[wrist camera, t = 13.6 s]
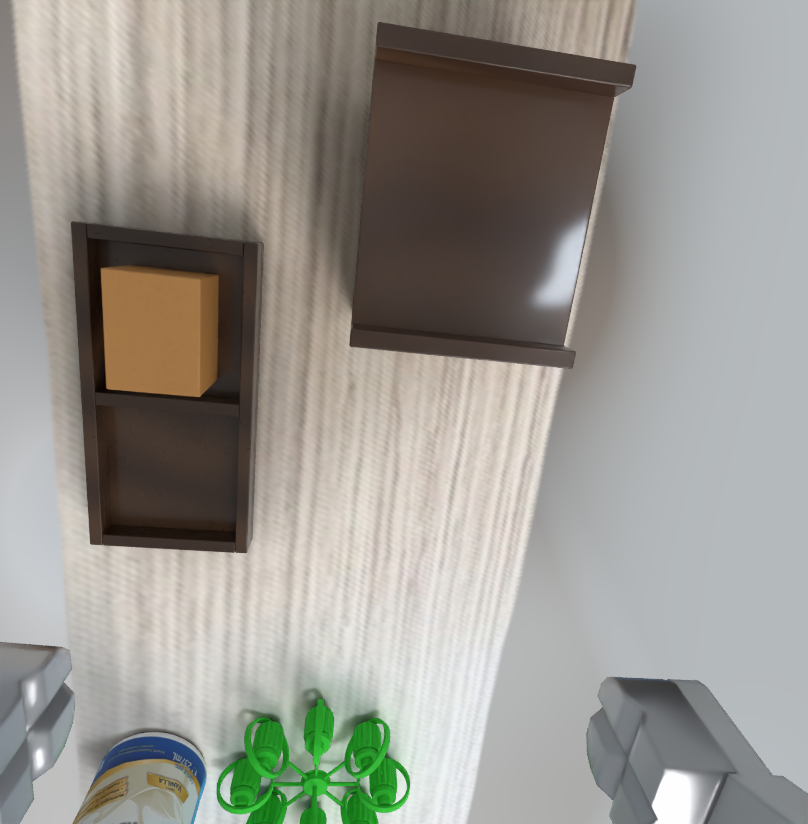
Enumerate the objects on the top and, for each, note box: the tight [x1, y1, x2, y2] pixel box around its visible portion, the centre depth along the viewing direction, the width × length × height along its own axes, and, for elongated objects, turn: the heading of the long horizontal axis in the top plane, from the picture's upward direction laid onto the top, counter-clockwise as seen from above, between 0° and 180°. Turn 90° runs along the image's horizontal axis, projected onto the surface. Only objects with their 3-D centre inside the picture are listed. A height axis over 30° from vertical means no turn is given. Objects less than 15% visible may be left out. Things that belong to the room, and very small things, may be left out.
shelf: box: [71, 221, 264, 553], centre depth 34 cm, size 20×10×2 cm, turn 173°
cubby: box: [350, 22, 636, 369], centre depth 27 cm, size 12×10×12 cm
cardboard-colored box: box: [101, 265, 219, 397], centre depth 31 cm, size 6×5×4 cm
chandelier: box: [217, 699, 410, 824], centre depth 41 cm, size 15×15×7 cm
